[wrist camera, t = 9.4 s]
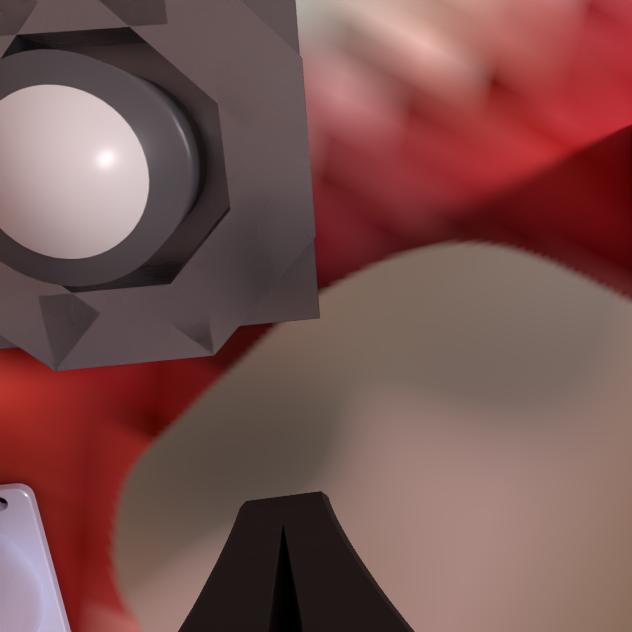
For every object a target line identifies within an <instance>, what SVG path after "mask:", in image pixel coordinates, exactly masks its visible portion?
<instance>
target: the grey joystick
mask: <svg viewBox="0 0 632 632" xmlns="http://www.w3.org/2000/svg"><path fill="white" fill-rule="evenodd" d="M39 49H48V50H63V51H69V52H75V53H78V54H82V55H85V56H89V57H91V58H94V59H96V60H99V61H102V62H104V63H107V64H109V65H112V66H115V67H117V68H120V69H122V70H125V71H127V72H130V73H133V74H135V75H138V76H140V77H143V78H145V79H148V80H150V81H152V82H155V83H157V84H158V85H160V86H162V87H163V88H165V89H166V90H168V91H169V92H170V93H172V94H173V95H174V96H175V97H176V98H177V99H178V100H179V101H180V102H181V103H182V104H183V105H184V106H185V107H186V108H187V110H188V111H189V112H190V114H191V115H192V117H193V119H194V120H195V122H196V124H197V126H198V128H199V130H200V132H201V135H202V138H203V142H204V145H205V151H206V160H207V170H206V179H205V184H204V188H203V190H202V193H201V196H200V198H199V200H198V202H197V204H196V206H195V207H194V208H193V210H192V211H191V213H190V214H189V215H188V216H187V217H186V218H185V220H184V221H183V222H182V223H181V224H180V225H179V226H178V227H177V229H176V230H175V231H174V232H173V233H172V234H171V235H170V236H169V238H168V239H167V240H166V241H165V242H164V243H163V244H162V245H161V247H160V248H159V249H158V250H157V251H156V252H155V253H154V254H153V255H152V256H151V257H150V258H149V259H148V260H147V261H146V262H145V263H143V264H142V265H141V266H140V267H138V268H137V269H135V270H133V271H132V272H130V273H128V274H127V275H124V276H122V277H120V278H117V279H115V280H112V281H109V282H105V283H102V284H96V285H89V286H64V285H55V284H51V283H47V282H42V281H39V280H36V279H33V278H31V277H28V276H26V275H23V274H21V273H19V272H17V271H15V270H13V269H12V268H10V267H8V266H7V265H5V264H4V263H2V262H1V261H0V349H5V348H16V347H20V348H21V349H23V350H24V351H26V352H27V353H29V354H30V355H32V356H33V357H35V358H36V359H38V360H39V361H41V362H42V363H44V364H45V365H47V366H48V367H50V368H51V369H53V370H54V371H61V370H71V369H81V368H91V367H101V366H111V365H122V364H132V363H142V362H152V361H162V360H172V359H182V358H192V357H203V356H213V355H215V354H216V353H217V351H218V350H219V349H220V348H221V347H222V346H223V344H224V343H225V342H226V341H227V340H228V339H229V337H230V336H231V335H232V334H233V333H234V332H235V330H236V329H237V328H238V327H239V326H244V325H254V324H264V323H275V322H285V321H296V320H305V319H316V318H320V314H319V301H318V288H317V275H316V262H315V249H314V238H315V236H316V234H315V221H314V208H313V194H312V181H311V168H310V155H309V142H308V128H307V115H306V102H305V89H304V76H303V62H302V57H301V56H300V54H299V41H298V28H297V15H296V2H295V0H0V59H2V58H5V57H7V56H10V55H13V54H17V53H20V52H24V51H31V50H39Z"/></svg>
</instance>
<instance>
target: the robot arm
mask: <svg viewBox="0 0 632 632" xmlns="http://www.w3.org/2000/svg"><path fill="white" fill-rule="evenodd" d="M0 497H2V498H4V499H5V500H6V501H7V502H8V503H7V504H6V503H1V502H0V632H71V630H70V626H69V623H68V619H67V615H66V611H65V608H64V604H63V600H62V596H61V593H60V589H59V585H58V581H57V577H56V574H55V570H54V566H53V562H52V559H51V555H50V551H49V547H48V544H47V540H46V536H45V532H44V528H43V525H42V521H41V517H40V513H39V510H38V506H37V502H36V498H35V494H34V492H33V491H32V489H31V488H30V487H28V486H27V485H24V484H21V483H13V484H4V485H0ZM178 632H414V630H413V629H412V628H411V627H410V626H409V624H408V623H407V622H406V621H405V619H404V618H403V617H402V615H401V614H400V613H399V612H398V610H397V609H396V608H395V607H394V605H393V604H392V603H391V601H390V600H389V599H388V597H387V596H386V595H385V594H384V592H383V591H382V589H381V588H380V587H379V585H378V584H377V582H376V581H375V579H374V578H373V577H372V575H371V574H370V572H369V571H368V569H367V568H366V566H365V565H364V563H363V562H362V560H361V559H360V557H359V556H358V554H357V553H356V551H355V550H354V548H353V546H352V545H351V543H350V541H349V540H348V538H347V536H346V534H345V533H344V531H343V529H342V527H341V525H340V524H339V522H338V520H337V518H336V515H335V513H334V511H333V509H332V507H331V504H330V501H329V498H328V497H327V495H325V494H324V493H322V492H321V491H320V492H312V493H304V494H297V495H290V496H282V497H274V498H266V499H259V500H251V501H246V502H245V503H244V504H243V505H242V506H241V508H240V510H239V513H238V515H237V518H236V521H235V523H234V525H233V528H232V530H231V533H230V535H229V537H228V540H227V542H226V544H225V546H224V548H223V550H222V552H221V554H220V556H219V558H218V561H217V563H216V565H215V567H214V568H213V570H212V572H211V574H210V576H209V578H208V580H207V582H206V584H205V586H204V587H203V589H202V592H201V593H200V595H199V597H198V599H197V601H196V602H195V604H194V606H193V608H192V610H191V611H190V613H189V615H188V616H187V618H186V619H185V621H184V623H183V624H182V626H181V628H180V629H179V631H178Z"/></svg>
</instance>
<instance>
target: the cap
mask: <svg viewBox="0 0 632 632" xmlns="http://www.w3.org/2000/svg"><path fill="white" fill-rule="evenodd" d="M206 170H207V160H206V151H205V145H204V142H203V138H202V135H201V132H200V130H199V128H198V126H197V124H196V122H195V120H194V119H193V117H192V115H191V114H190V112H189V111H188V110H187V108H186V107H185V106H184V105H183V104H182V103H181V102H180V101H179V100H178V99H177V98H176V97H175V96H174V95H173V94H172V93H170V92H169V91H168V90H166V89H165V88H163V87H162V86H160V85H158V84H157V83H155V82H152V81H150V80H148V79H145V78H143V77H140V76H138V75H135V74H133V73H130V72H127V71H125V70H122V69H120V68H117V67H115V66H112V65H109V64H107V63H104V62H102V61H99V60H96V59H94V58H91V57H89V56H85V55H82V54H78V53H75V52H69V51H63V50H48V49H39V50H31V51H24V52H20V53H17V54H13V55H10V56H7V57H5V58H2V59H0V261H1V262H2V263H4V264H5V265H7V266H8V267H10V268H12V269H13V270H15V271H17V272H19V273H21V274H23V275H26V276H28V277H31V278H33V279H36V280H39V281H42V282H47V283H51V284H55V285H64V286H89V285H96V284H102V283H105V282H109V281H112V280H115V279H117V278H120V277H122V276H124V275H127V274H128V273H130V272H132V271H133V270H135V269H137V268H138V267H140V266H141V265H142V264H143V263H145V262H146V261H147V260H148V259H149V258H150V257H151V256H152V255H153V254H154V253H155V252H156V251H157V250H158V249H159V248H160V247H161V245H162V244H163V243H164V242H165V241H166V240H167V239H168V238H169V236H170V235H171V234H172V233H173V232H174V231H175V230H176V229H177V227H178V226H179V225H180V224H181V223H182V222H183V221H184V220H185V218H186V217H187V216H188V215H189V214H190V213H191V211H192V210H193V208H194V207H195V206H196V204H197V202H198V200H199V198H200V196H201V193H202V190H203V188H204V184H205V179H206Z"/></svg>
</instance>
